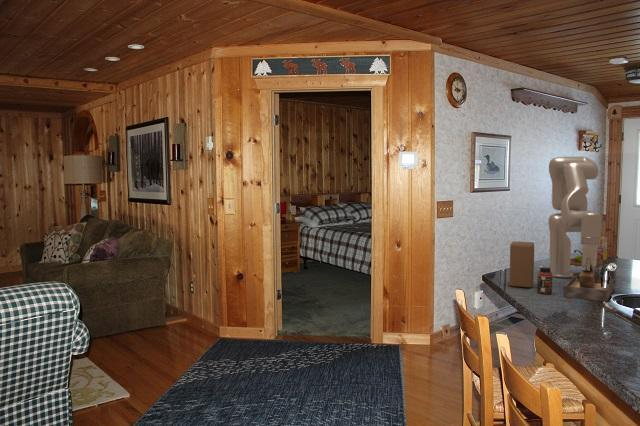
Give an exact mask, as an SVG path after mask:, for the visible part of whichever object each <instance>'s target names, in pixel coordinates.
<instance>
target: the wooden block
mask: <svg viewBox="0 0 640 426" xmlns="http://www.w3.org/2000/svg"><path fill="white" fill-rule="evenodd" d="M509 249H510V250H509V286H511V287H517V288H518V287H519V288H527V289H528V288H529V289H531V288H533V287H534V279H535V271H534V270H535V269H534V268H535V243H534V242H532V241H516V240H515V241H511V243H510V247H509Z"/></svg>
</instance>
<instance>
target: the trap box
mask: <svg viewBox="0 0 640 426" xmlns="http://www.w3.org/2000/svg"><path fill="white" fill-rule="evenodd" d="M601 281H602V280H595V285H594V288H593V289H591V288H581V287H580V283H579V278H577V275H574V274H573V277H570V278H569V280H568V281H567V282H566V283H565V284H564V285H563V297H565V298H571V299H572V298H573V299H580V300H581V299H582V300H588V301H589V300H590V301H597V302H606V303H607V302H609V299H610V297H611V294H612V292H613V291H614V281H615V279H614V278H610V279H609V281H608V282H609V284H608V285H607V287H606V288H603V287H601Z"/></svg>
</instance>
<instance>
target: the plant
mask: <svg viewBox="0 0 640 426" xmlns="http://www.w3.org/2000/svg"><path fill="white" fill-rule="evenodd" d="M581 250H583V247H581ZM577 252H578V253H579V254H577V255H576V253H577ZM573 253H575V254H574V255H573V256H574V257H573V258H571V257H570V266H572V265H574V266H573V267H579V266H581V265H582V251H580V250H578V249H575V250H573ZM604 264H605V263H604V262H602V261H600V260H597V262H596V266H600V265H604ZM585 266H586V265H585ZM596 266H595V267H596ZM600 267H601V266H600Z"/></svg>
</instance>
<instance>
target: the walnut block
mask: <svg viewBox="0 0 640 426" xmlns="http://www.w3.org/2000/svg"><path fill="white" fill-rule="evenodd" d="M595 273H596V272H595V270H594V271H586V269H585V270H583V269H581V270H580V273H579V276H578V279H579V283H580V287H581V288H591V289H593V288H594V285H595V281H596V279H595V278H596V277H595V276H596V275H595Z"/></svg>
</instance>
